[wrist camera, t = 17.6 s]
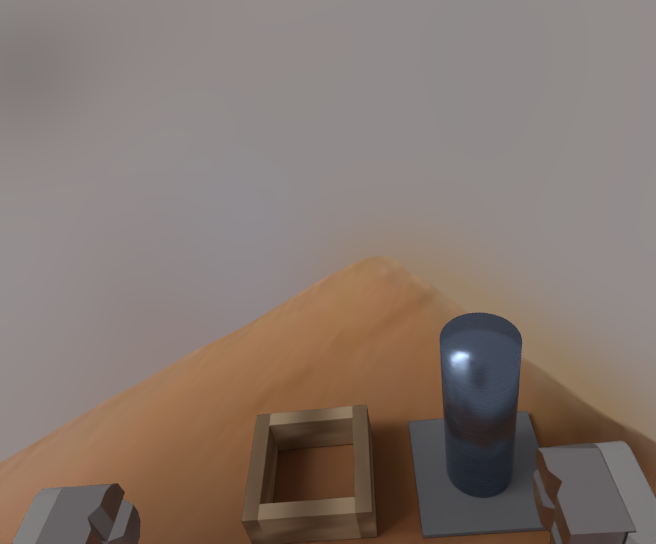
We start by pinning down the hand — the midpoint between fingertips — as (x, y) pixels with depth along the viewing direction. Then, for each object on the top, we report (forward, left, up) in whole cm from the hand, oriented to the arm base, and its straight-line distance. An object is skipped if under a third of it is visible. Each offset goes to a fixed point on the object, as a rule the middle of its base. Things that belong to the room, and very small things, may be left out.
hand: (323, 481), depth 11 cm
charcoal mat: (+7, +19, -30) cm, 36 cm away
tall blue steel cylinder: (+7, +19, -30) cm, 36 cm away
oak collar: (-6, +19, -30) cm, 36 cm away
